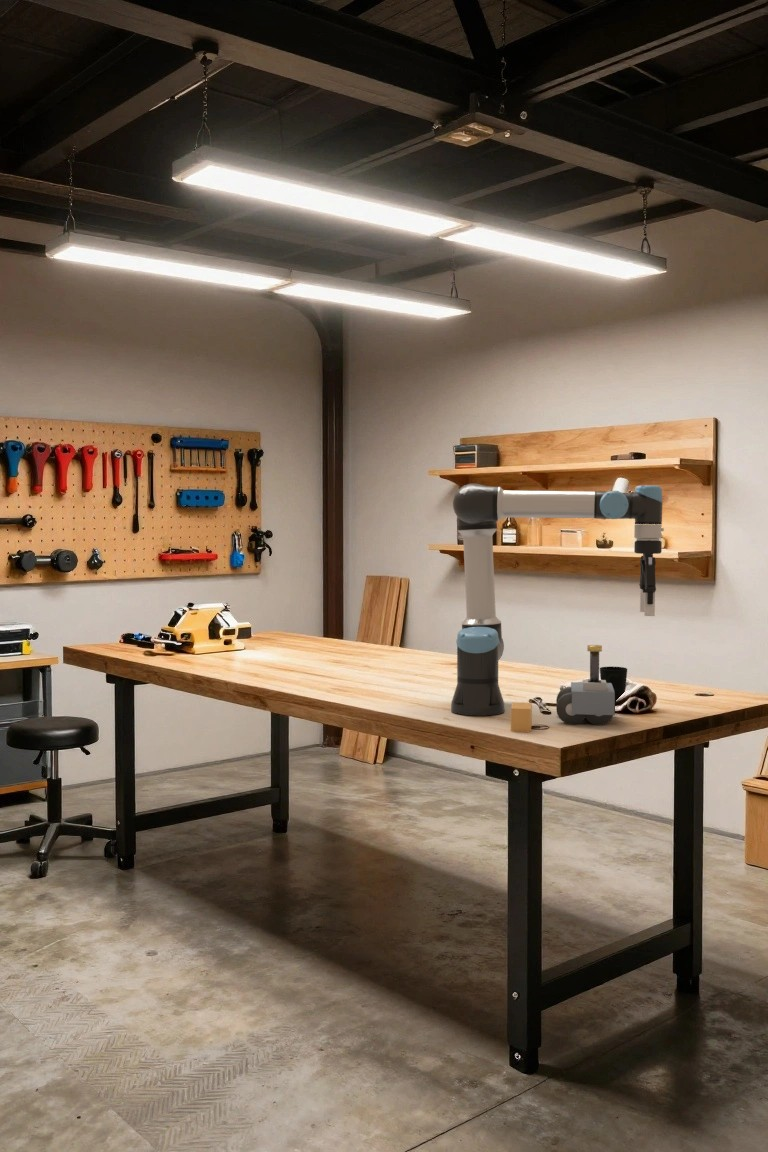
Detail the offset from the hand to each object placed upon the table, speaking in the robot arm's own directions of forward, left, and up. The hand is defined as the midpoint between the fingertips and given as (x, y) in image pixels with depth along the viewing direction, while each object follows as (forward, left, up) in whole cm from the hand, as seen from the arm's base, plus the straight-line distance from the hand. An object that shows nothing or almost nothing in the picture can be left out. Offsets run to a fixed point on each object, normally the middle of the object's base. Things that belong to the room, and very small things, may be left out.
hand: (647, 614), depth 294 cm
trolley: (-18, -21, -27) cm, 39 cm away
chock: (-35, -34, -27) cm, 56 cm away
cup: (-10, -5, -27) cm, 29 cm away
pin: (-16, -24, -18) cm, 34 cm away
